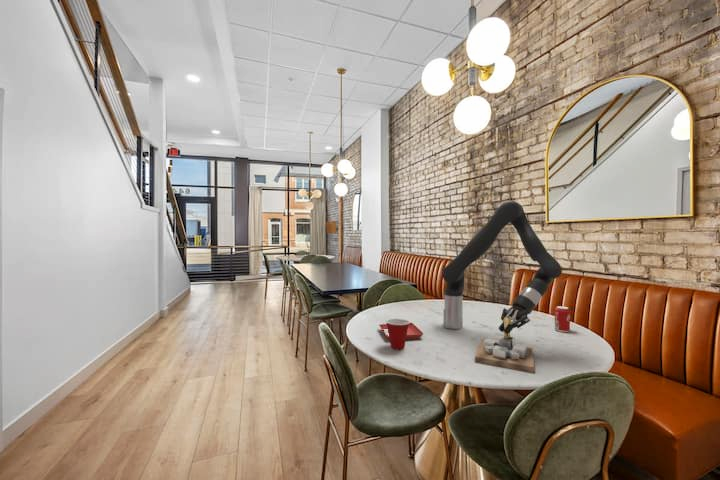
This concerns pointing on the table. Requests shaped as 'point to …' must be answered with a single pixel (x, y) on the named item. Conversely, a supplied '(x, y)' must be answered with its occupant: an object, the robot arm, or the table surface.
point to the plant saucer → (411, 331)
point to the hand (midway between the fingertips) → (503, 331)
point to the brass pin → (506, 322)
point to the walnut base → (517, 364)
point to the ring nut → (504, 349)
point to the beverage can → (562, 319)
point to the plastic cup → (397, 332)
